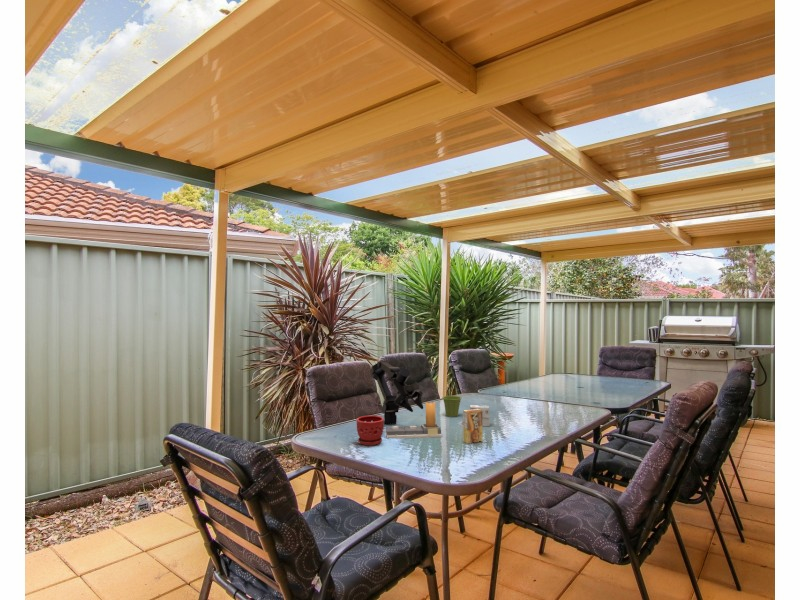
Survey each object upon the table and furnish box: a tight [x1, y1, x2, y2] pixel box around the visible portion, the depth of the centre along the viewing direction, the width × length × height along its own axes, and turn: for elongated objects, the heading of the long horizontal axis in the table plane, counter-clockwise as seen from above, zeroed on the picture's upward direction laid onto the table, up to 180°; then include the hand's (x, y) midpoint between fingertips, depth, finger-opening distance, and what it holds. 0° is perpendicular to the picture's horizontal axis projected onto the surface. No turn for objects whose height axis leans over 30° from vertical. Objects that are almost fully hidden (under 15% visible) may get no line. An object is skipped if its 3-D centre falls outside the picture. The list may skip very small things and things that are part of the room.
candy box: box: [462, 409, 483, 444], centre depth 221 cm, size 9×4×15 cm, turn 116°
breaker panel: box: [384, 423, 443, 439], centre depth 234 cm, size 28×12×4 cm, turn 96°
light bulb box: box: [469, 404, 491, 427], centre depth 255 cm, size 11×7×11 cm, turn 84°
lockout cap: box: [425, 401, 437, 428], centre depth 235 cm, size 5×5×13 cm
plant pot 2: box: [442, 395, 462, 418], centre depth 280 cm, size 12×12×11 cm
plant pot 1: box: [356, 415, 385, 446], centre depth 219 cm, size 13×13×12 cm
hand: (417, 410), depth 241 cm, fingers open, 9 cm apart
